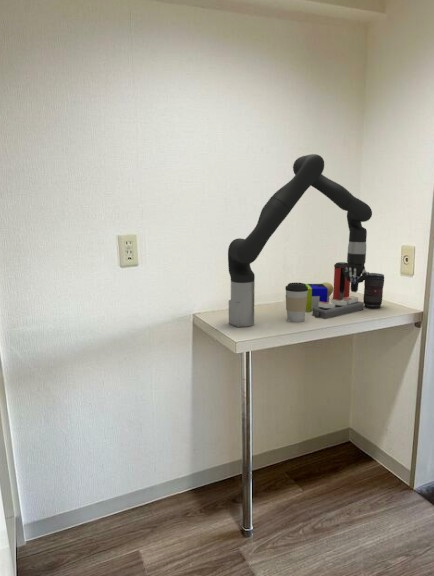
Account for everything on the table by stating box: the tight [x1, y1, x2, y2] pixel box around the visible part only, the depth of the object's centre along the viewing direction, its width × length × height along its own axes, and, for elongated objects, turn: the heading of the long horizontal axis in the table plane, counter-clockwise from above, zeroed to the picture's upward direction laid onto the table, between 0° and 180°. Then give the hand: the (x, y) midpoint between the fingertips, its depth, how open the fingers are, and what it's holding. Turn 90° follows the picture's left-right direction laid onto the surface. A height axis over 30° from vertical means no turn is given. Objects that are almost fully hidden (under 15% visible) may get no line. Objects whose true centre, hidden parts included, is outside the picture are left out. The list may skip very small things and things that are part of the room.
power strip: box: [311, 300, 364, 320], centre depth 180 cm, size 26×7×3 cm, turn 124°
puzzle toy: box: [305, 283, 328, 312], centre depth 187 cm, size 10×10×10 cm
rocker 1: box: [318, 301, 335, 308], centre depth 176 cm, size 6×4×2 cm, turn 124°
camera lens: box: [362, 272, 385, 310], centre depth 187 cm, size 8×8×15 cm
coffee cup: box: [284, 282, 308, 323], centre depth 170 cm, size 9×9×15 cm
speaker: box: [332, 261, 351, 300], centre depth 198 cm, size 8×8×18 cm
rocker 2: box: [330, 298, 347, 306], centre depth 180 cm, size 6×4×2 cm, turn 124°
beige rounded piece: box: [321, 282, 334, 303], centre depth 193 cm, size 6×6×10 cm
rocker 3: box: [343, 295, 359, 304], centre depth 184 cm, size 6×4×2 cm, turn 124°
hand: (354, 291), depth 184 cm, fingers closed
